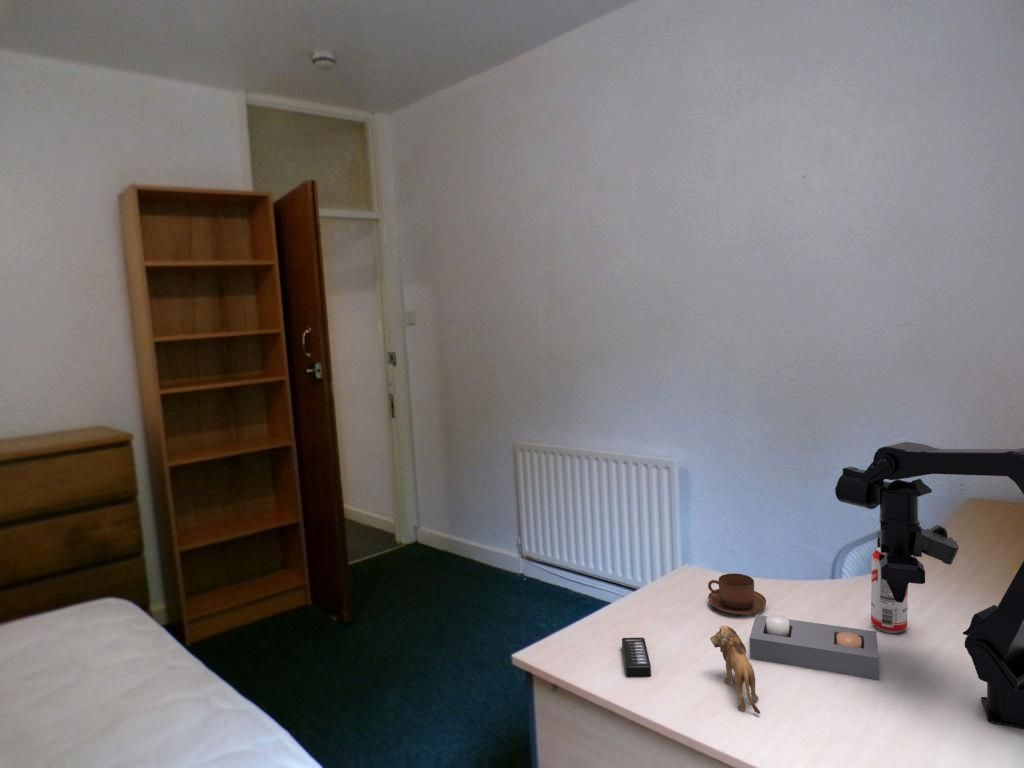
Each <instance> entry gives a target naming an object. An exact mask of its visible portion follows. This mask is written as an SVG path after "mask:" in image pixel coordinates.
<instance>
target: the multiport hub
mask: <svg viewBox="0 0 1024 768" xmlns="http://www.w3.org/2000/svg"><path fill="white" fill-rule="evenodd" d="M621 647H622V655H623V660H624V661H623V662H624V668H625V674H626V675H625V676H626V677H627V678H651V677H652V665H651V661H650V657H649V652H648V648H647V644H646V639H645V638H644V637H622V638H621Z"/></svg>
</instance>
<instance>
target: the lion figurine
mask: <svg viewBox="0 0 1024 768" xmlns="http://www.w3.org/2000/svg"><path fill="white" fill-rule="evenodd" d="M709 640H710V641H711V643H712V645H713V647H714V648H717V649H718V648H719V650H720V653H722V657H723V660H724V661H725V669H726V670H725V671H726V674H727V675H726V676H727V677H725V678H724V683H725V684H733V682H734V684H735V689H736V694H737V696H738V701H739V704H738V706H737V708H738V710H739V711H745V710H746V702H745V697H744V694H743V685H745V693H746V696H747V700H748V702H749V704H750V706H751V707H752V709H753V712H754V713H756V714H757V715H760V714H761V711H760V709H759V708H758V707H757V705H755V703H754V702H757V701H758V700H759V696H758V695H757V694H756V676H755V675H756V674H755V670H754V668H753V665H752V664H751V662H750V660H749V658H748V656H747V649H746V648H747V647H746V646H745V643H744V642H743V641H742V639H741V637H740V635H738V634H737V631H736V630H735V629H734V628H732V627H730V626H729V625H720V626H719V631H717V632H716V633H715V634H714V635H712V636H711V637H710V638H709ZM733 672H734V675H733Z"/></svg>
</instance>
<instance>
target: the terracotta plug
mask: <svg viewBox="0 0 1024 768" xmlns="http://www.w3.org/2000/svg"><path fill="white" fill-rule="evenodd" d="M837 645H843V646H850V647H856V648H862V639H861V637H860V636H858V635H856V634H853V633H848V632H842V633H838V634H837Z"/></svg>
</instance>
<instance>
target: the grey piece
mask: <svg viewBox="0 0 1024 768" xmlns="http://www.w3.org/2000/svg"><path fill="white" fill-rule="evenodd" d="M766 616H767V618H766V626H767V634H770V635H777V636H784V637H789V618H788V617H787V616H785V615H782V614H770V615H766Z"/></svg>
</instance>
